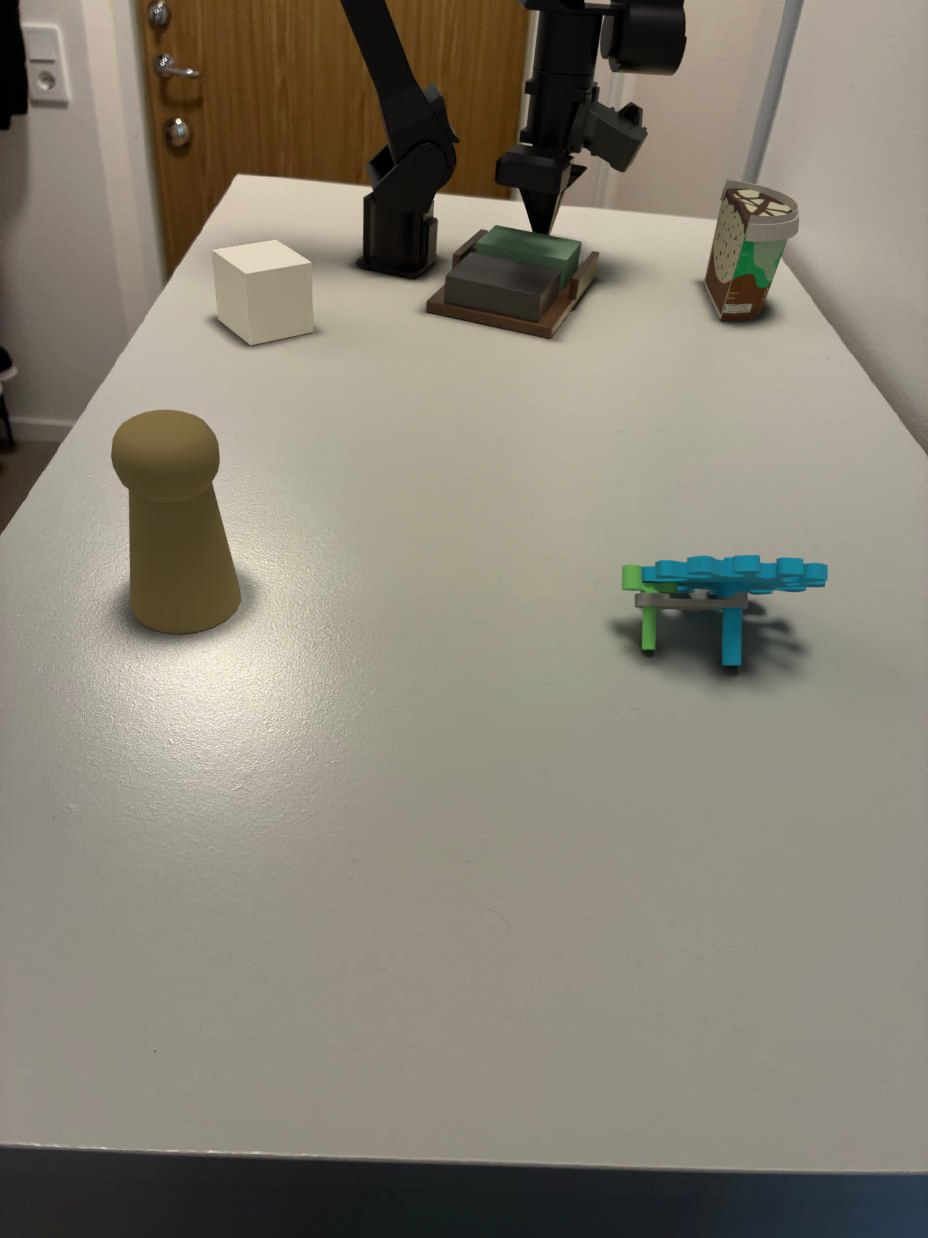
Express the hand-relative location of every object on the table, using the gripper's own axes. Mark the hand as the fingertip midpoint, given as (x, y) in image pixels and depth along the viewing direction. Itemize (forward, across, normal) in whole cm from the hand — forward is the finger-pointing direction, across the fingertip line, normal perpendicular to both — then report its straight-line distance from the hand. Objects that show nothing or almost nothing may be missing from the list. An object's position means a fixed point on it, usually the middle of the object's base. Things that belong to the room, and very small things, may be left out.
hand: (541, 242), depth 97 cm
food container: (+3, +1, -21) cm, 21 cm away
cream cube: (+3, -27, +17) cm, 32 cm away
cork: (+3, -62, +3) cm, 62 cm away
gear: (+3, -52, -25) cm, 58 cm away
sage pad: (+2, -5, 0) cm, 5 cm away
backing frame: (+2, -9, 0) cm, 9 cm away
